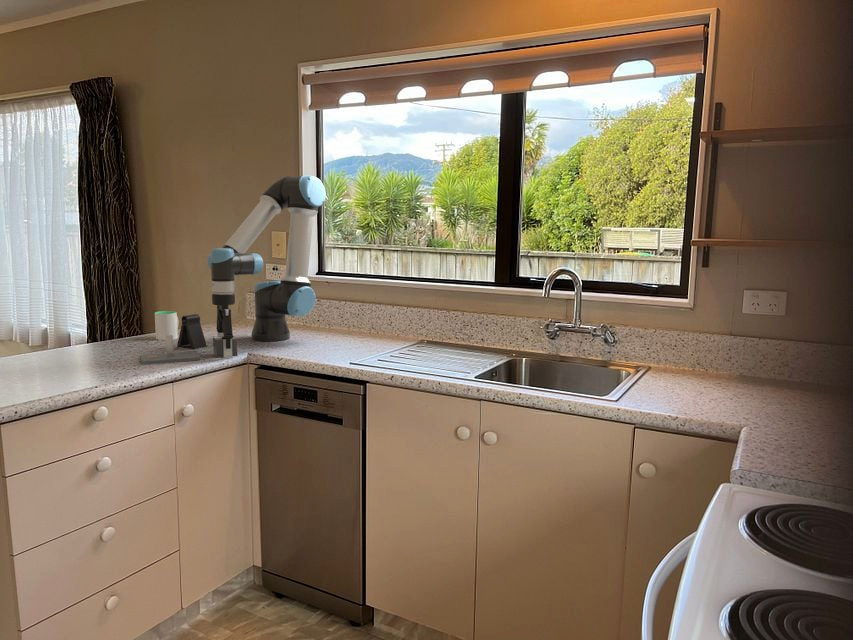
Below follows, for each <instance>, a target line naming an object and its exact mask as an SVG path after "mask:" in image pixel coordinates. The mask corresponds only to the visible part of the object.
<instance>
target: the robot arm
mask: <svg viewBox="0 0 853 640" xmlns="http://www.w3.org/2000/svg"><path fill="white" fill-rule="evenodd" d="M325 188H326V187H325V184H323V182H322V181H321V179H320V178H318V177H316V176H314V175H306V174H304V175H297V176H293V175H292V176H289V175H287V176H283V177H281V178H279V179H277V180H276V181H274V182H273V183H272V184H271V185H269V187H268V188H267V189H265V190H264V191H263V193H262V194H261V196H259V202H258V203H257V204H256V206H255V207H254V209H252V211H251V212H250V213H249V214H248V216H247V217H246V218H245V219H244V220H243V221H242V223H241V224H240V226H239V227H238V228H237V229H236V230H235V231H234V233H232V235H231V236H230V237H229V238H228V240H227V241H226V242H225V243H224V244H223V246H222V247H221V248H220V247H218V248H216V247H215V248H212V249H211V252H210V253H209V255H208V256H207V261H206V263H207V266H208V268H209V269H210V270H211V271H210V274H211V283H210V284H209V287H211V292H212V294H211V303H212V305H214V306H216V308H217V311H216V332H217V337H221V336H224V337H222V340H223V347H224V357H223V359H232V358H233V356H232V338H233V336H234V334H233V326H232V325H233V324H232V313H231V312H232V310H231V309H229V306H233V305H235V304H236V297H235V296H236V295H235V294H234V293H235V291H236V288H235V286H236V283H235V276H244V275H245V276H246V275H252V276H253V275H257V274H260V273H261V272H262V271H263V268H264V260H263V257H262V256H261V254H259V253H256V252H255V253H254V252H253V253H252V252H249V253H248V252H247V251H248V250H249V248H250V247H251V246H252V245H253V243H254V242H255V241H256V240H257V238H258V237H259V236H260V234H261V233H262V232H263V231H264V229H265V228H266V227H267V226H268V224H269V223H270V222H271V221H272V219H274V217H275V216H276V215H279V214H281V213H282V212H283V210H285V209H287V211H288V212H289V213H290V218H289V219H290V221H289V231H288V239H287V241H288V244H287V252H286V264H285V274H284V277H282V278H281V279H280V280H273V281H272V280H271V281H262V282H257V283H256V284H255V286H254V309H255V320H254V324H253V327H252V329H251V340H254V341H260V342H277V341H285V340H288V339H290V338H291V332H290V328H289V326H288V323H287V319H286V316H291V317H305V316H307V315H308V314H310V313H311V312H312V311H313V309H314V308H315V305H316V301H317V295H316V293H315V291H314V290H313V288H312V286H311V285H312V282H311V280H310V279H309V278H308V276H309V267H310V256H311V247H312V246H311V245H312V235H313V234H312V233H313V225H314V224H313V223H314V217H315V216H317V214H318V213H319V207H321V206H322V205H323V204H324V203H325V201H326V197H327V193H326V189H325ZM246 252H247V253H246Z"/></svg>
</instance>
